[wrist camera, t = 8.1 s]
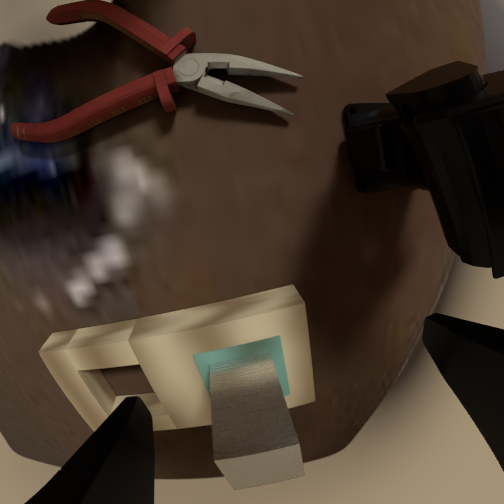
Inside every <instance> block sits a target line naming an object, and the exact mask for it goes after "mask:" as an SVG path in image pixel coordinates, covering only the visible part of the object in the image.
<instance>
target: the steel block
mask: <svg viewBox="0 0 504 504" xmlns="http://www.w3.org/2000/svg"><path fill="white" fill-rule="evenodd" d="M210 395H211V420H212V440H213V456H214V462H215V463H216V465H217V466H218V468H219V469H220V471H221V472H222V473H223V475H224V476H225V478H226V479H227V480H228V482H229V483H230V484H231V486H232V487H233V489H234V490H236V489H243V488H250V487H255V486H261V485H266V484H271V483H276V482H280V481H285V480H289V479H293V478H297V477H301V476H304V468H303V462H302V456H301V450H300V444H299V441H298V438H297V435H296V432H295V429H294V425H293V422H292V419H291V416H290V413H289V410H288V407H287V404H286V401H285V398H284V395H283V391H282V388H281V385H280V382H279V379H278V376H277V373H276V369H275V366H274V363H273V360H272V357H271V354H270V350H269V351H265V352H261V353H257V354H252V355H248V356H244V357H239V358H235V359H230V360H225V361H220V362H215V363H210Z"/></svg>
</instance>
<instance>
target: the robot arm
mask: <svg viewBox="0 0 504 504" xmlns="http://www.w3.org/2000/svg"><path fill="white" fill-rule="evenodd" d="M385 95H386V97H387V99H388V100H389V102H390V103H356V104H348V105H346V106H345V108H344V114H345V119H346V124H347V129H348V130H347V132H346V136H347V141H348V147H349V153H350V160H351V166H352V167H353V168H354V173H355V181H356V188H357V190H358V191H359V192H361V193H370V192H376V191H381V190H387V189H393V188H399V187H405V186H408V187H413V188H418V189H422V190H427V191H429V192H430V195H431V197H432V200H433V203H434V206H435V208H436V211H437V214H438V217H439V220H440V223H441V227H442V230H443V233H444V236H445V239H446V241H447V244H448V246H449V247H450V248H451V249H452V250H453V251H454V252H455V253H456V254H457V255H459V256H460V258H461V261H462V262H464V263H467V264H469V265H472V266H478V267H485V268H491V267H492V275H493V278H495V279H497V278H500V277H503V276H504V70H503V71H498V72H494V73H489V74H485V75H482V74H481V72H480V69H479V67H478V66H475V65H472V64H468V63H464V62H461V61H456V62H452V63H449V64H446V65H443V66H440V67H437V68H434V69H431V70H429V71H427V72H425V73H423V74H421V75H420V76H418V77H416V78H414V79H412V80H410V81H408V82H406V83H405V84H403V85H401V86H399V87H397V88H396V89H394V90H392V91H390V92H388V93H387V94H385ZM350 108H352V109H353V114H352V113H351V112H350V111H349V110H350ZM363 183H364V184H365V188H364V189H362V184H363ZM422 340H423V343H424V345H425V347H426V349H427V350H428V352H429V354H430V355H431V357H432V359H433V360H434V362H435V364H436V366H437V368H438V369H439V371H440V373H441V374H442V376H443V378H444V379H445V381H446V382H447V384H448V385H449V386H450V388H451V389H452V391H453V392H454V393H455V395H456V396H457V398H458V399H459V400H460V402H461V403H462V405H463V406H464V408H465V409H466V411H467V412H468V414H469V415H470V417H471V418H472V420H473V421H474V423H475V424H476V426H477V428H478V429H479V431H480V432H481V434H482V435H483V437H484V438H485V440H486V442H487V443H488V445H489V447H490V448H491V450H492V452H493V453H494V455H495V457H496V459H497V460H498V462H499V464H500V466H501V468H502V469H503V471H504V330H503V329H500V328H495V327H491V326H487V325H483V324H479V323H475V322H471V321H467V320H463V319H459V318H455V317H451V316H447V315H443V314H439V313H434V314H432V315H430V316H427V317H426V318H425V321H424V328H423V335H422ZM154 477H155V452H154V437H153V419H152V415H151V412H150V411H149V409H148V408H147V406H146V405H145V403H144V402H143V400H142V399H141V398H140V397H139V396H129V397H126V398H125V399H124V400H123V401H122V402H121V403H120V404H119V405H118V406H117V407H116V409H115V410H114V411H113V412H112V413H111V414H110V415H109V416H108V417H107V418H106V420H105V421H104V422H103V423H102V424H101V425H100V426H99V427H98V428H97V429H96V431H95V432H94V433H93V434H92V435H91V436H90V437H89V438H88V439H87V440H86V442H85V443H84V444H83V445H82V446H81V447H80V448H79V449H78V450H77V451H76V452H75V454H74V455H73V456H72V457H71V458H70V459H69V460H68V461H67V462H66V463H65V464H64V466H63V467H62V468H61V470H59V471H58V472H57V473H56V474H55V475H54V476H53V477H52V478H51V480H50V481H49V482H48V483H47V484H46V485H45V486H44V487H43V488H41V489H40V490H39V491H38V492H37V493H36V494H35V495H34V496H33V497H32V498H30V499H29V500H28V501H27V502H26V503H25V504H154Z"/></svg>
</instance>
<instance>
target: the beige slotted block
mask: <svg viewBox="0 0 504 504" xmlns="http://www.w3.org/2000/svg"><path fill="white" fill-rule="evenodd" d="M269 350H270V354H271V357H272V360H273V363H274V366H275V369H276V373H277V376H278V379H279V382H280V385H281V388H282V391H283V395H284V398H285V401H286V404H287V407H288V409H289V408H293V407H296V406H300V405H303V404H307V403H310V402H313V401H315V392H314V381H313V370H312V360H311V351H310V341H309V332H308V324H307V315H306V307H305V302H304V301H303V299H302V297H301V296H300V294H299V293H298V291H297V290H296V288H295V287H294V285H293V284H292V285H288V286H284V287H280V288H276V289H272V290H268V291H264V292H259V293H255V294H251V295H247V296H243V297H238V298H234V299H229V300H225V301H221V302H216V303H212V304H207V305H202V306H198V307H193V308H188V309H183V310H179V311H174V312H169V313H164V314H159V315H154V316H149V317H143V318H138V319H133V320H127V321H122V322H116V323H111V324H105V325H99V326H94V327H88V328H81V329H75V330H69V331H62V332H56V333H52V334H51V336H50V337H49V338H48V340H47V341H46V342H45V344H44V345H43V346H42V348H41V349H40V350H39V352H38V353H39V354H40V356H41V358H42V359H43V361H44V363H45V364H46V366H47V368H48V369H49V371H50V372H51V374H52V375H53V377H54V379H55V380H56V382H57V383H58V385H59V386H60V387H61V389H62V390H63V392H64V393H65V395H66V396H67V397H68V399H69V400H70V402H71V403H72V404H73V406H74V407H75V408H76V410H77V411H78V412H79V414H80V415H81V416H82V417H83V419H84V420H85V421H86V422H87V424H88V425H89V426H90V427H91V428H92V430H93V431H94V432H95V431H96V429H97V428H98V427H99V426H100V425H101V424H102V423H103V422H104V421H105V420H106V418H107V417H108V416H109V415H110V414H111V413H112V412H113V411H114V410H115V409H116V407H117V406H118V405H119V404H120V403H121V402H122V401H123V400H124V399H125V398H126V397H129V396H139V397H140V398H141V399H142V400H143V402H144V403H145V405H146V406H147V408H148V409H149V411H150V412H151V415H152V419H153V431H159V430H171V429H181V428H190V427H198V426H205V425H212V420H211V395H210V363H215V362H220V361H225V360H230V359H235V358H239V357H244V356H248V355H252V354H257V353H261V352H265V351H269ZM136 364H140V366H141V368H142V370H143V372H144V373H145V375H146V377H147V379H148V381H149V383H150V384H151V386H152V388H153V390H154V392H155V393H148V394H138V395H126V396H116V395H115V393H114V392H113V390H112V389H111V387H110V385H109V384H108V382H107V381H106V379H105V377H104V376H103V374H102V372H101V371H100V369H102V368H112V367H120V366H129V365H136Z"/></svg>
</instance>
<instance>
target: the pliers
mask: <svg viewBox="0 0 504 504" xmlns="http://www.w3.org/2000/svg"><path fill="white" fill-rule="evenodd" d="M46 19H47V21H49V22H50V23H52V24H55V25H68V24H75V23H81V22H96V21H97V20H98V21H102V22H105V23H107V24H109V25H111V26H113V27H114V28H116V29H117V30H119V31H121V32H122V33H124V34H125V35H127V36H128V37H130V38H132V39H133V40H135V41H136V42H138V43H139V44H141V45H142V46H144V47H145V48H147V49H148V50H149V51H151V52H152V53H154V54H155V55H157V56H158V57H160V58H161V59H162V60H164V61H165V62H167V63H168V64H170V65H171V66H172V67H173V69H172V67H169V68H166V69H161V70H158V71H155V72H153V73H152V74H149V75H147V76H144V77H142V78H139V79H137V80H134V81H132V82H130V83H127V84H125V85H123V86H120V87H118V88H116V89H114V90H112V91H110V92H107V93H105V94H103V95H101V96H99V97H97V98H95V99H93V100H91V101H89V102H87V103H86V104H84V105H82V106H80V107H78V108H76V109H75V110H73V111H71V112H69V113H67V114H65V115H63V116H61V117H59V118H57V119H54V120H51V121H48V122H43V123H17V122H16V123H11V133H12V135H13V136H14V137H15V138H16V139H19V140H24V141H34V142H44V143H53V142H59V141H62V140H65V139H68V138H71V137H73V136H76V135H78V134H80V133H82V132H84V131H86V130H88V129H90V128H92V127H94V126H96V125H98V124H100V123H102V122H104V121H106V120H108V119H110V118H112V117H115V116H117V115H119V114H121V113H124V112H126V111H128V110H130V109H133V108H135V107H138V106H140V105H142V104H145V103H147V102H150V101H153V100H155V99H158V98H160V101H161V103H162V106H163V108H164V110H165V111H166V112H167V113H169V112H172V111H174V110H177V109H176V105H175V102H174V99H173V95H172V94H173V93H175V92H178V91H180V90H179V86H178V85H180V86H182V87H185V88H188V89H191V90H194V91H197V92H200V93H202V94H205V95H208V96H211V97H214V98H217V99H219V100H222V101H226V102H229V103H235V104H240V105H245V106H250V107H255V108H260V109H265V110H269V111H273V112H278V113H282V114H286V115H290V116H293V113H291V112H289V111H288V110H286V109H284V108H282V107H280V106H279V105H277V104H275V103H273V102H271V101H269V100H267V99H265V98H263V97H261V96H259V95H257V94H255V93H253V92H251V91H249V90H247V89H245V88H243V87H240V86H238V85H236V84H233V83H231V82H228V81H225V82H224V81H222V80H219V79H217V78H214V77H211V76H209V75H206V72H207V74H208V72H209V70H210V69H212V68H225V69H226V71H227V73H228V75H246V76H273V77H288V78H300V79H301V78H302V77H303V76H301V75H299V74H296V73H293V72H290V71H288V70H285V69H282V68H279V67H276V66H273V65H270V64H266V63H263V62H260V61H256V60H253V59H249V58H246V57H242V56H237V55H230V54H216V53H194V54H189V52H188V49H189V48H190V47H191V46H192V45H193V44H194V43H195V42H196V35H195V32H193V31H192V30H190V29H189V28H187V27H185V28H183V29H182V30H180V31H179V32H178V33H177V34H176V35H175V36H173V37H172V38H170V37H169V36H167V35H166V34H164V33H163V32H161V31H159V30H158V29H156V28H155V27H153V26H152V25H150V24H148V23H147V22H145V21H143V20H142V19H140V18H138V17H137V16H135V15H133V14H132V13H130V12H128V11H126V10H124V9H123V8H121V7H119V6H117V5H115V4H112V3H109V2H106V1H101V0H85V1H79V2H74V3H69V4H64V5H60V6H57V7H55V8H53V9H52V10H51V11H50V12H49V14H48V15H47V17H46Z"/></svg>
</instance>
